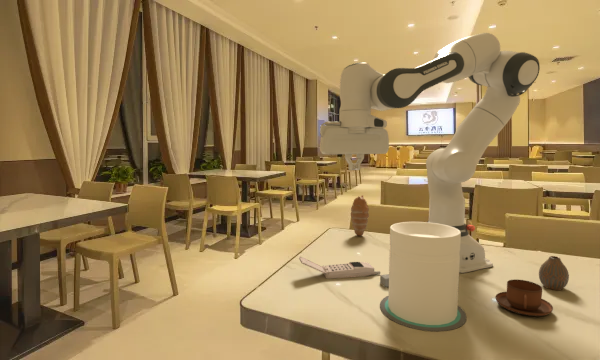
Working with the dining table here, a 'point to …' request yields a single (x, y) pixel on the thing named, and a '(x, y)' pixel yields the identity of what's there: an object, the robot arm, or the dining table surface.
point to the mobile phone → (342, 269)
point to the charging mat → (444, 327)
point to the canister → (424, 272)
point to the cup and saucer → (524, 298)
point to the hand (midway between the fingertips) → (354, 169)
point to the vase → (553, 273)
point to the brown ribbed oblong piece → (359, 215)
